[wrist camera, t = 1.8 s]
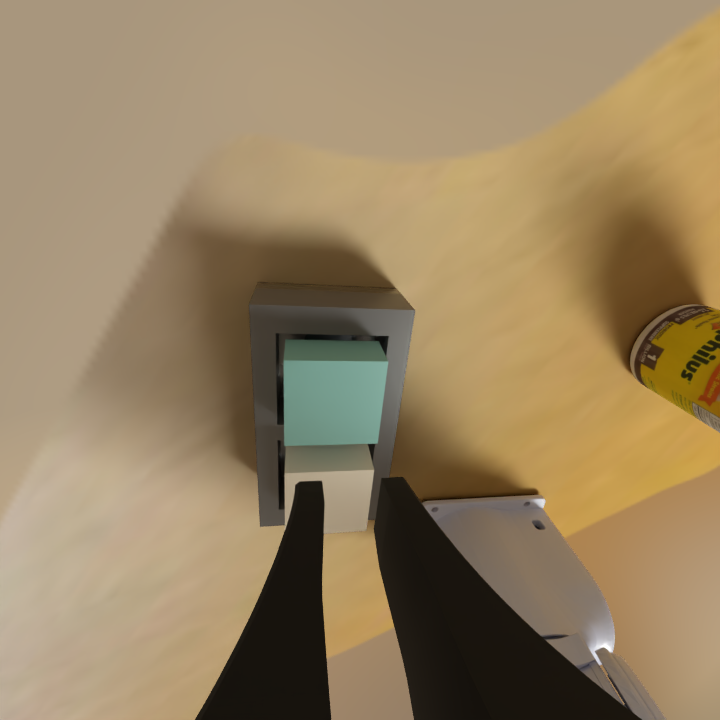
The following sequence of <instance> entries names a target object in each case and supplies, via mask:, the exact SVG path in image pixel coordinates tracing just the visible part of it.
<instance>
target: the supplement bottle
mask: <svg viewBox="0 0 720 720" xmlns="http://www.w3.org/2000/svg"><path fill="white" fill-rule="evenodd" d="M630 367H631V370H632V373H633V375H634V377H635V378H636V379H637V380H638V381H639V382H640V383H641V384H643V385H644V386H646V387H647V388H649V389H650V390H652V391H654V392H655V393H657V394H658V395H660V396H662V397H663V398H665V399H666V400H668V401H670V402H671V403H673V404H675V405H676V406H678V407H679V408H681V409H683V410H684V411H686V412H687V413H689V414H691V415H692V416H694V417H695V418H697V419H699V420H700V421H702V422H704V423H705V424H707V425H708V426H710V427H712V428H713V429H715V430H717V431H718V432H720V310H718V309H715V308H711V307H708V306H704V305H697V304H690V305H683V306H679V307H676V308H673V309H671V310H669V311H667V312H665V313H663V314H661V315H660V316H658V317H657V318H656V319H654V320H653V321H652V322H651V323H650V324H649V325H648V326H647V327H646V328H645V329H644V330H643V331H642V333H641V334H640V335H639V337H638V338H637V340H636V342H635V344H634V346H633V349H632V352H631V356H630Z"/></svg>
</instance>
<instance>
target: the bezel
mask: <svg viewBox="0 0 720 720" xmlns="http://www.w3.org/2000/svg"><path fill="white" fill-rule="evenodd" d="M249 315H250V335H251V355H252V375H253V395H254V415H255V435H256V455H257V475H258V495H259V515H260V527H263V526H279V525H285V477H281V453H280V440H284V397H280V380H279V333H281V334H324V335H368V336H376V341H379V343H380V345H381V347H382V349H383V351H384V353H385V356H386V358H387V360H388V369H387V376H386V384H385V391H384V399H383V407H382V414H381V422H380V430H379V437H378V444H368V447H369V451H370V455H371V459H372V463H373V467H374V475H373V483H372V491H371V498H370V506H369V514H368V520H375V518H376V511H377V504H378V497H379V490H380V484H381V478H389V475H390V469H391V462H392V456H393V449H394V443H395V436H396V430H397V424H398V417H399V411H400V404H401V398H402V392H403V385H404V379H405V372H406V366H407V359H408V353H409V347H410V340H411V334H412V327H413V321H414V315H415V310H414V308H413V307H412V306H411V305H410V304H409V303H408V301H407V300H406V299H405V298H404V297H403V296H402V294H383V293H360V292H336V291H313V290H289V289H266V288H255V291H254V293H253V296H252V298H251V301H250V303H249Z"/></svg>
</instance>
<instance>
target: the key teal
mask: <svg viewBox="0 0 720 720" xmlns="http://www.w3.org/2000/svg"><path fill="white" fill-rule="evenodd" d="M387 369H388V360H387V358H386V356H385V353H384V351H383V349H382V347H381V345H380V343H379V341H343V340H293V339H286V340H285V351H284V446H305V445H342V444H378V437H379V430H380V422H381V414H382V407H383V399H384V391H385V384H386V376H387Z"/></svg>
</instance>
